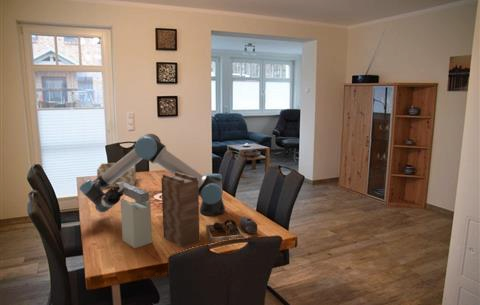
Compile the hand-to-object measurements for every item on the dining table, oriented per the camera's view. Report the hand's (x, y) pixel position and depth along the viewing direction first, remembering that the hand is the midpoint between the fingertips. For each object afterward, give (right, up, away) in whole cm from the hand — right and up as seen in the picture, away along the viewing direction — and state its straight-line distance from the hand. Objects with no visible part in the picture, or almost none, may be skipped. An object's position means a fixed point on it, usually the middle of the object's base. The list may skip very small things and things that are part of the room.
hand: (127, 184), depth 169 cm
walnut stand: (+25, -27, +2) cm, 37 cm away
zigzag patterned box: (-42, -9, +109) cm, 117 cm away
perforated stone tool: (+58, -25, +13) cm, 65 cm away
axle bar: (+3, -5, -2) cm, 6 cm away
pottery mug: (+46, -26, +9) cm, 54 cm away
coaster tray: (+46, -26, +6) cm, 53 cm away
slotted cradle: (+5, -27, 0) cm, 28 cm away
